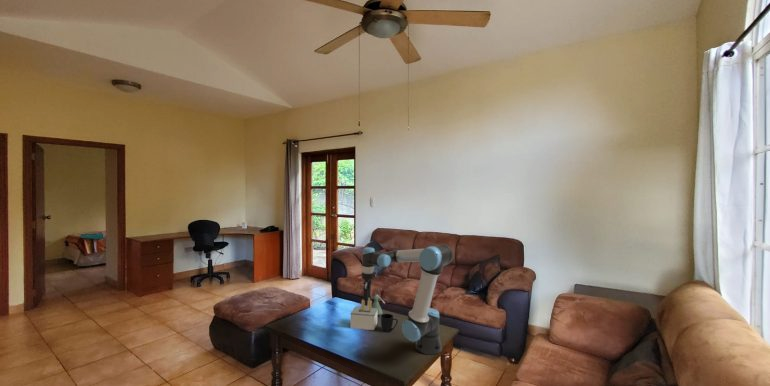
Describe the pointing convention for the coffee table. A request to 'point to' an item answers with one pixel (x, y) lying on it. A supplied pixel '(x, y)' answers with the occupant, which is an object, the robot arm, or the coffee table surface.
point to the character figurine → (377, 303)
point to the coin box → (363, 318)
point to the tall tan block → (368, 306)
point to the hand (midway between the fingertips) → (366, 309)
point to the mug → (387, 322)
